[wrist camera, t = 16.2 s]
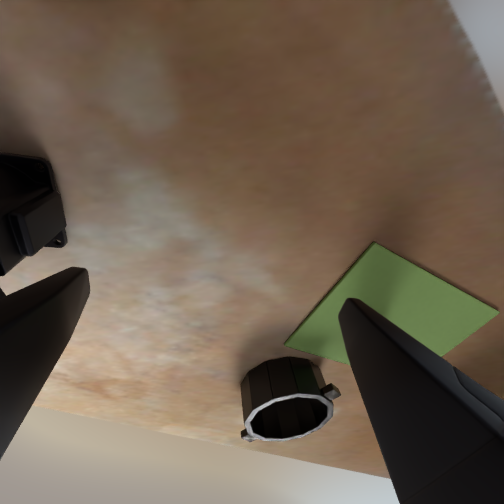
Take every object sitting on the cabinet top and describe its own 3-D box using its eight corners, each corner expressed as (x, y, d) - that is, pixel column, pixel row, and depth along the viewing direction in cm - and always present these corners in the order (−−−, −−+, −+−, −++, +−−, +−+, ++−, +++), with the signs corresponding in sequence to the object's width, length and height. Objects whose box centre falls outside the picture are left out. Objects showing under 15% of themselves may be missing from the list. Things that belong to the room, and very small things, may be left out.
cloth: (283, 343, 29) (284, 346, 29) (373, 241, 23) (375, 243, 23) (406, 380, 37) (408, 382, 37) (497, 310, 31) (500, 312, 31)
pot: (216, 390, 33) (217, 430, 29) (301, 339, 29) (314, 375, 26) (265, 416, 38) (270, 452, 34) (342, 375, 34) (358, 410, 31)
